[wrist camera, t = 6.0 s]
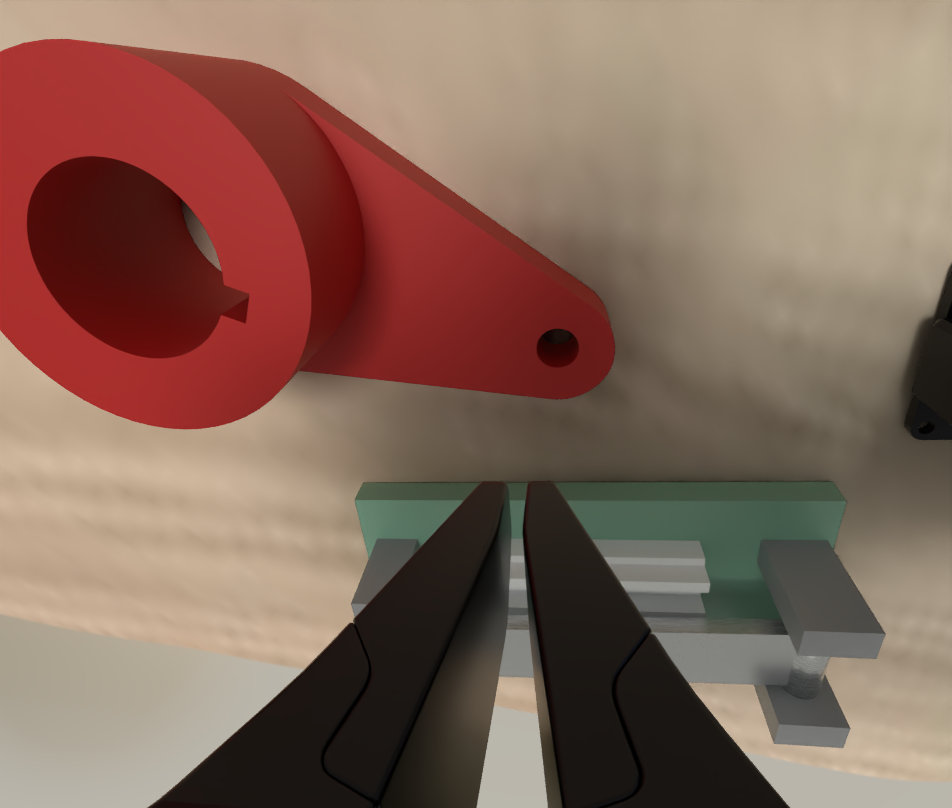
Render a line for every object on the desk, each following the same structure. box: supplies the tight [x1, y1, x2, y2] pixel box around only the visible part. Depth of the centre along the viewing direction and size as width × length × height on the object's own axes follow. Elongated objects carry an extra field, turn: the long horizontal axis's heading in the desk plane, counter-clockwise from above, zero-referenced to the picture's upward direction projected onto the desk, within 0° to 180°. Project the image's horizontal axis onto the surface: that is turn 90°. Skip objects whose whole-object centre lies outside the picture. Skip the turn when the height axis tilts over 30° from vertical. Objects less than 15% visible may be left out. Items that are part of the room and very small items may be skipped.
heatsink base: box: [351, 482, 885, 748], centre depth 23 cm, size 19×10×6 cm, turn 95°
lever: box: [0, 39, 615, 429], centre depth 17 cm, size 18×9×7 cm, turn 72°
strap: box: [499, 615, 830, 700], centre depth 22 cm, size 18×3×2 cm, turn 95°
